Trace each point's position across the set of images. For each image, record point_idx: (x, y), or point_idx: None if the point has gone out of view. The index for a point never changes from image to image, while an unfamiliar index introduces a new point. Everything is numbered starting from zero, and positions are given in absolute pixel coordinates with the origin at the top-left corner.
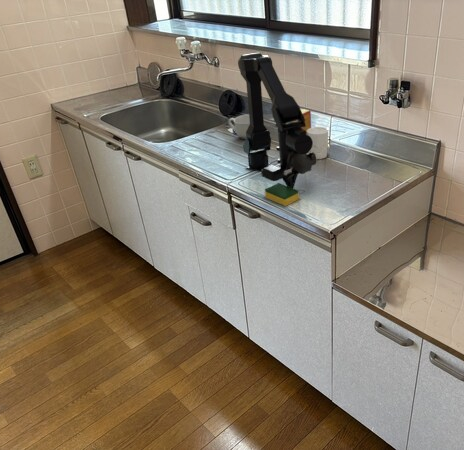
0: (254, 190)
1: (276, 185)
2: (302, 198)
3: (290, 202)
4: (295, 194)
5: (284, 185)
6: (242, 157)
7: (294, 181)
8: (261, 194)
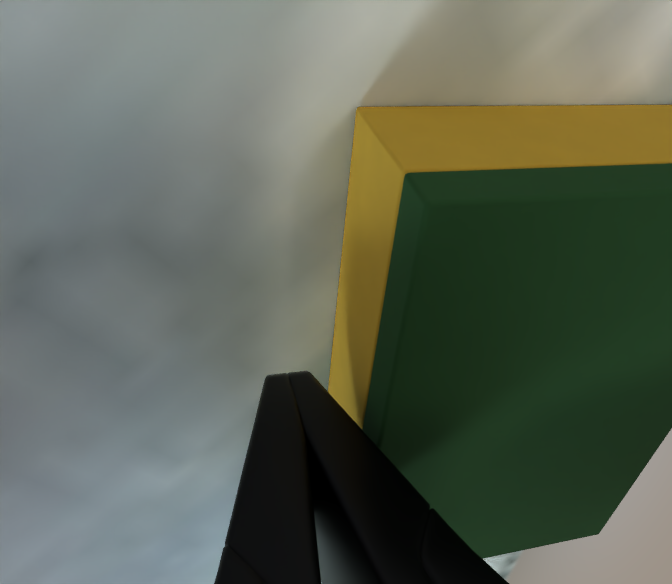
0: None
1: None
2: (282, 73)
3: (585, 112)
4: (502, 170)
5: None
6: None
7: (277, 524)
8: None
